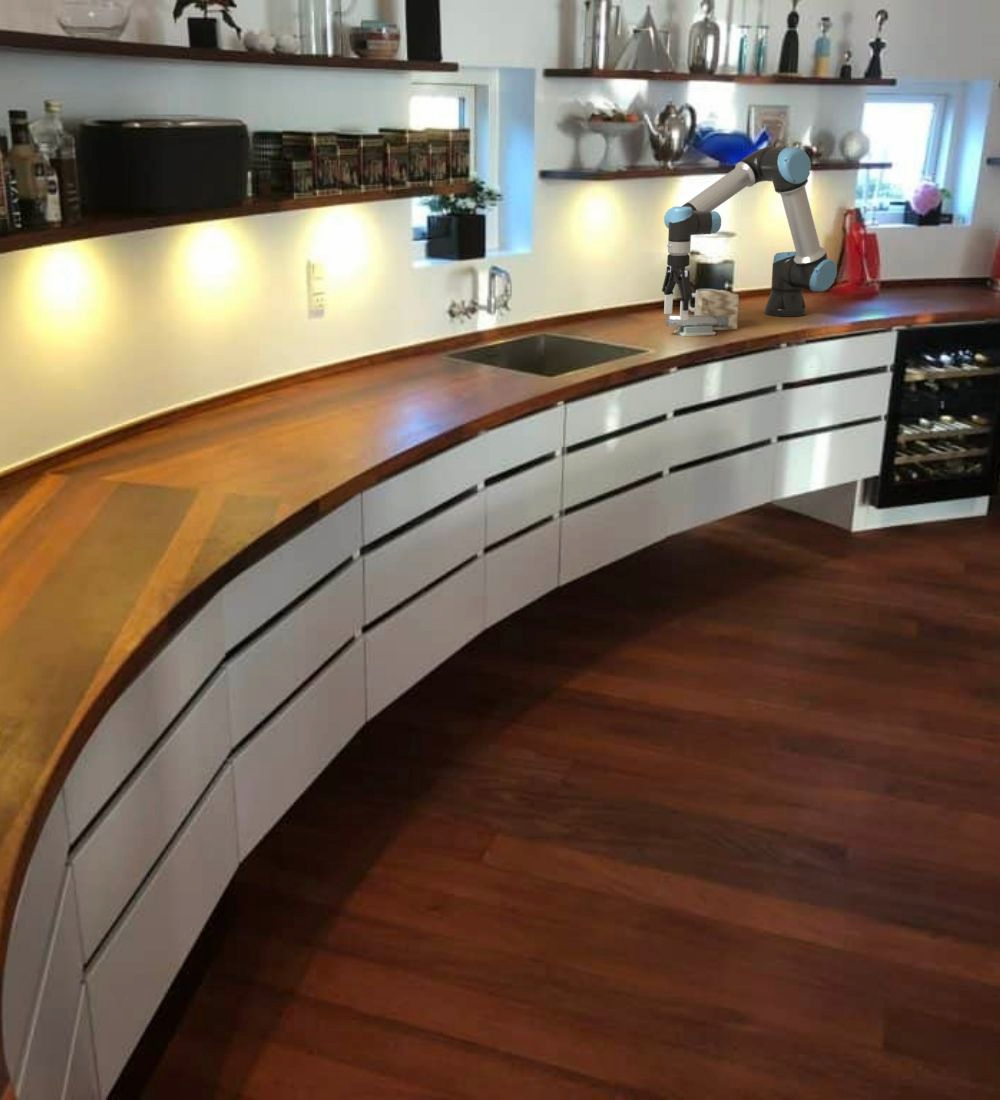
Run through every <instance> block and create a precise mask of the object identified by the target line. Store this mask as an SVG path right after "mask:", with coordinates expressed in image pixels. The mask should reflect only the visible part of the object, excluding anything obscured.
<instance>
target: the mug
mask: <svg viewBox="0 0 1000 1100" xmlns="http://www.w3.org/2000/svg"><path fill="white" fill-rule="evenodd" d="M713 290H717V289H716V288H715V289H714V288H697V289H696V290H695V292H692V298H694V307H692V304H691V301H692V300H690V301H689V309H688V311H689V312H691V313H692V312H693V313H694V314H693V315H697V310H698V291H713Z"/></svg>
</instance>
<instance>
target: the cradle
mask: <svg viewBox="0 0 1000 1100" xmlns="http://www.w3.org/2000/svg"><path fill="white" fill-rule="evenodd" d="M673 333H675V334H677V335H678V336H679V335H680V336H681V337H699V336H714V335H716V333H717V332H716V331H715V330H713V326H693V327H677V329H675V330H674V332H673Z"/></svg>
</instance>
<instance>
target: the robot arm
mask: <svg viewBox="0 0 1000 1100" xmlns="http://www.w3.org/2000/svg"><path fill="white" fill-rule="evenodd" d="M734 167H735V168H733V169H732V170H731V171H729V172H728V173H726V174H725V175H724V176H722V177H720V178H719V179H718V180H717V181H715V182H714V183H712V184H710V186H708V187H707V188H706V189H703V191H701V192H700V193H698V194H697V195H695V196H694V197H693V198H691V199H690V200H688V201H686V202H685V203H684V204H683V205H681V206H673V207H671V208H669V209H668V210H667V211H666V212H665V215H664V216H663V217H664V218H663V222H664V225H665V227H666V228H667V229H668V234H667V235H668V238H667V239H668V240H667V242H668V244H667V245H666V247H667V253H668V255H667V260H666V261H667V262H666V264H667V266H666V272H665V276H664V280H663V284H662V288H661V291H662V293H663V294H664V303H663V304H664V305H663V306H664V308H663V314H664V315H673V299H674V292H673V291H674V290H675V287H676V284H677V285H678V290H679V293H680V305H679V306H680V307H679V309H680V310H679V315H680V320H688V315H689V301H690V300H691V301H692V300H693V297H692V293H693V292H692V285H691V275H690V270H686V267H689V266H690V260H691V257H690V253H691V244H692V243H691V242H692V241H691V240H692V236H697V235H712V234H713V235H714V234H716V233H718V232H720V229H721V227H722V217H721V215H720V213H719V212H718V211H714V210H716V209H717V208H718V207H719V206H721V205H722V204H724V203H725V202H727V201H728V200H729V199H731V198H733V196H735V195H736V194H738V193H739V192H741V191H742V190H744V189H745V188H752V187H753V186H754V185H756V184H758V183H761V182H772V184H773V188H774V192H775V193H776V194H779V195H780V197H781V202H782V204H783V207H784V211H785V215H786V219H787V223H788V224H787V225H788V227H789V231H790V234H791V235H790V236H791V238H792V242H793V246H794V250H795V251H786V252H776V253H775V254H774V256H773V261H772V267H771V268H772V272H771V287H770V288H771V290H770V294H769V297H768V298H767V302H766V304H765V306H764V314H766V315H769V316H775V317H801V316H802V317H803V316H805V315H806V313H807V311H806V310H807V307H806V302H805V299H804V294H803V293H804V292H803V289H804V290H810V291H812V292H824V291H826V290H828V289H829V288H830V287H832V285H833V284H834V283H835V280H836V278H837V274H838V267H837V264H836V262H835V261H834V260H832V259H830V258H829V257H828V255H827V251H826V249H825V248H824V247H822V246H821V245H820V241H819V238H818V234H817V229H816V225H815V222H814V217H813V213H812V209H811V206H810V205H811V204H810V202H809V198H808V194H807V191H806V185H807V184H808V181H809V179H808V178H809V176H810V174H811V172H810V171H811V169H812V164H811V159H810V157H809V155H808V154H807V152H806V151H805V150H803V149H801V148H799V147H798V148H797V147H793V146H788V147H787V146H785V147H784V146H783V147H781V146H766V147H763V148H760V149H758V150H756V151H754V152H752V153H751V154H749V155H747V156H745V157H744V158H743V159H742V160H740V161H738V163H736V164H735V166H734Z"/></svg>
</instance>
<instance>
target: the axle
mask: <svg viewBox="0 0 1000 1100" xmlns="http://www.w3.org/2000/svg"><path fill="white" fill-rule="evenodd" d="M665 323H666V326H667V327H674V328H675V327H677V328H678V327H693V326H713V327H725V328H726V327H727V326H728V324H729V319H728V316H707V315H694V314H692V315H691V314H688V320H680V314H666V318H665Z"/></svg>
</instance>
